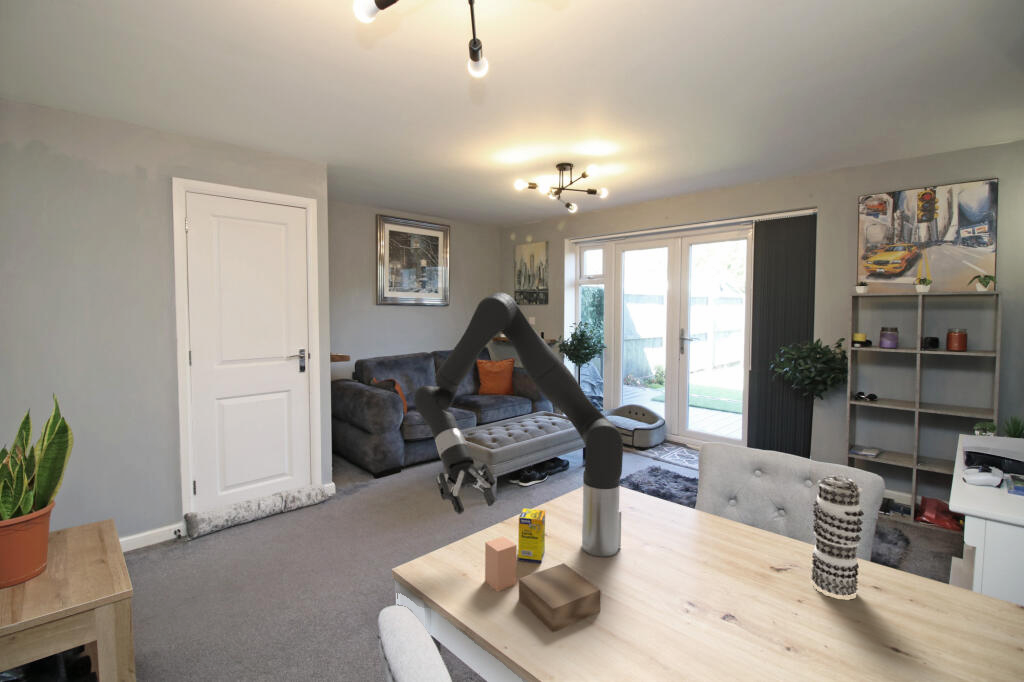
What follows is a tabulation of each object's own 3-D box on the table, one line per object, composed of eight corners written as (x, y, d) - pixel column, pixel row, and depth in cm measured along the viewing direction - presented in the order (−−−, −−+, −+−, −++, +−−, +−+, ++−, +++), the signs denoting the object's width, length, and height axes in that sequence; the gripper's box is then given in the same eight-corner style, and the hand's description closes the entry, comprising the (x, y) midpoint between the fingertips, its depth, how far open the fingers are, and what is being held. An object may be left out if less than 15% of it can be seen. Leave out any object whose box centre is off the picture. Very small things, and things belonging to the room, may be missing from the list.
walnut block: (563, 584, 108) (563, 563, 108) (600, 613, 98) (600, 589, 97) (518, 601, 101) (519, 578, 101) (552, 633, 91) (553, 608, 91)
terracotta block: (503, 574, 111) (503, 536, 111) (516, 584, 107) (516, 545, 107) (485, 581, 108) (485, 542, 108) (497, 591, 104) (497, 551, 104)
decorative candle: (853, 583, 109) (859, 475, 107) (863, 606, 100) (870, 489, 99) (806, 574, 113) (812, 469, 111) (812, 595, 104) (818, 482, 103)
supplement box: (541, 563, 116) (542, 519, 115) (517, 561, 117) (518, 517, 117) (545, 551, 122) (545, 509, 121) (522, 549, 123) (522, 507, 122)
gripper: (433, 447, 117) (456, 508, 109) (482, 438, 126) (507, 495, 117) (423, 462, 122) (445, 523, 113) (471, 453, 130) (495, 508, 122)
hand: (476, 508), depth 115 cm, fingers open, 8 cm apart
